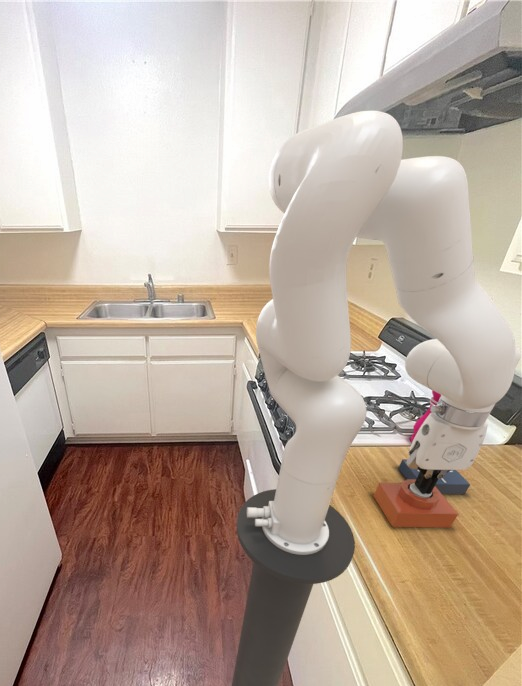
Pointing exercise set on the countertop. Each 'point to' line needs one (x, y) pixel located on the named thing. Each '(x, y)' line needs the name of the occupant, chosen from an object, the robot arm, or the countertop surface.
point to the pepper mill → (420, 421)
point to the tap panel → (446, 485)
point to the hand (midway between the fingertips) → (422, 489)
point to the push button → (418, 492)
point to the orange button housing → (413, 506)
